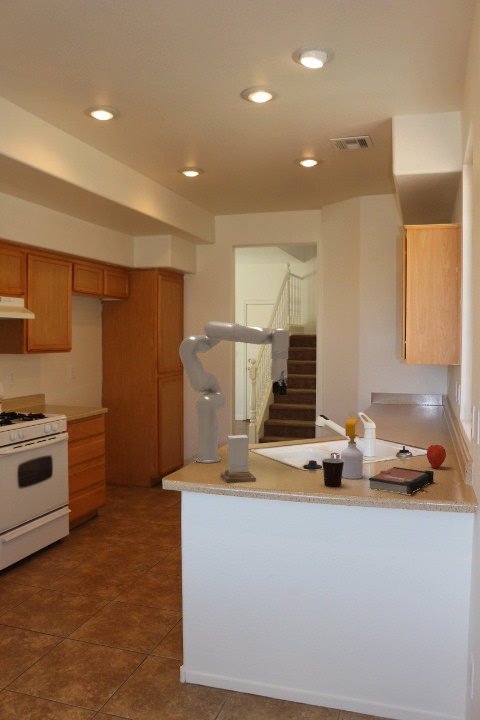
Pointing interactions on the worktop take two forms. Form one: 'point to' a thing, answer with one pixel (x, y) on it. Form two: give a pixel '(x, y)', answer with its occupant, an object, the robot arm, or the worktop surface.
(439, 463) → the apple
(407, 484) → the book
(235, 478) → the plinth
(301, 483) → the worktop surface
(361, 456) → the soap bottle
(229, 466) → the skincare box
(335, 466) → the coffee mug
